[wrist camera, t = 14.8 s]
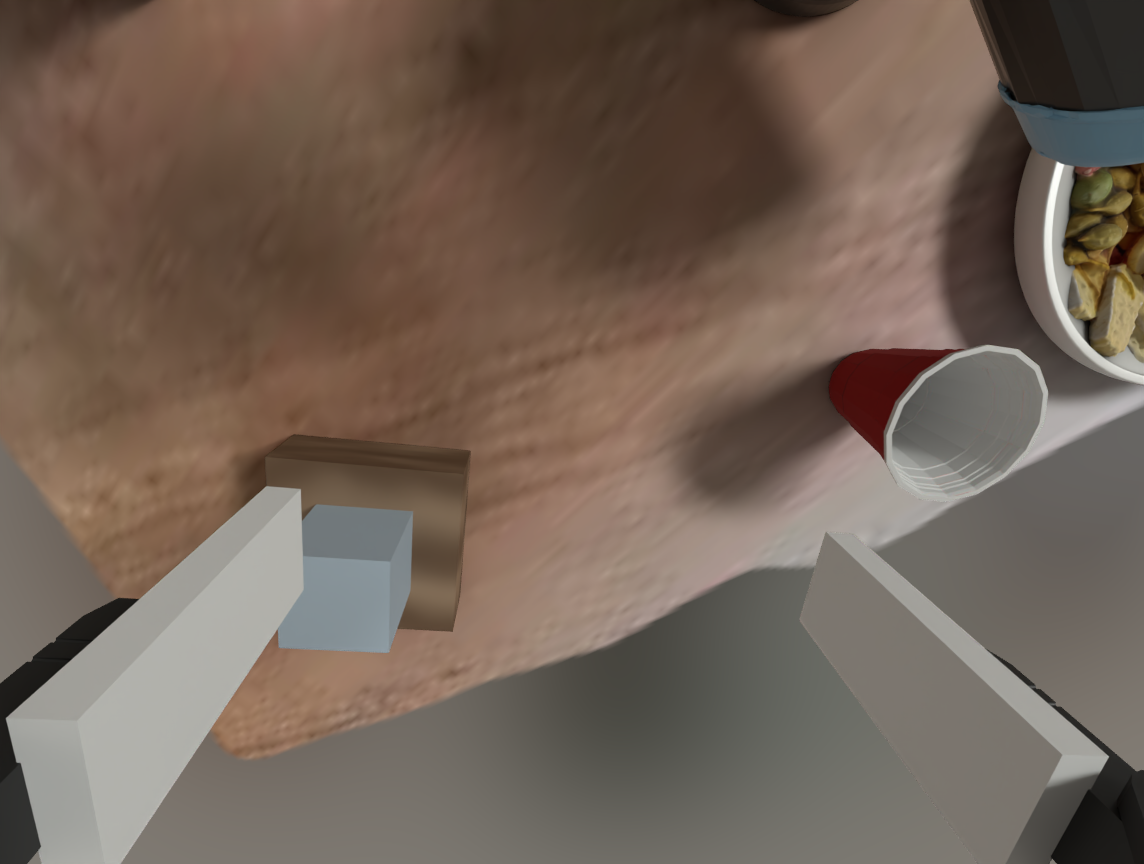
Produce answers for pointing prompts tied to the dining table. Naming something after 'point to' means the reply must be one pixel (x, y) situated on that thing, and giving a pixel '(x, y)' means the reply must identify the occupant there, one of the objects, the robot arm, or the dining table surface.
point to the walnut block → (391, 506)
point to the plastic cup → (943, 414)
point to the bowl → (1085, 261)
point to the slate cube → (351, 580)
